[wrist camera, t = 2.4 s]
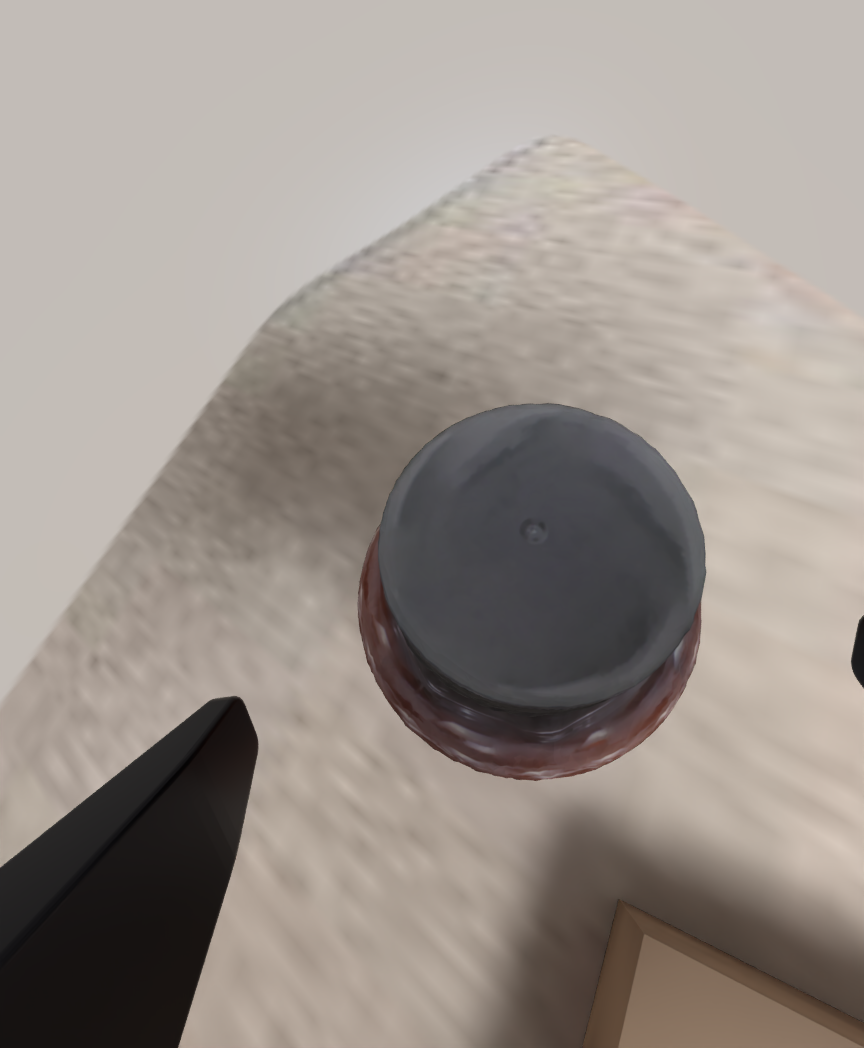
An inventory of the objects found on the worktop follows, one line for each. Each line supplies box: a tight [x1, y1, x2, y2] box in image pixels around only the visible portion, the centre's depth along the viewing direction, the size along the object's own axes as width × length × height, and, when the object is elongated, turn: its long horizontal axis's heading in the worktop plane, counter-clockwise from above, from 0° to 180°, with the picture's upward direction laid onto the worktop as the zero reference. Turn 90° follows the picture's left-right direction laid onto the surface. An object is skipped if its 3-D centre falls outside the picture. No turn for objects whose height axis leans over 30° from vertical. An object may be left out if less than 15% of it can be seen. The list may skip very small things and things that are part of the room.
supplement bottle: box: [358, 403, 706, 781], centre depth 11 cm, size 6×6×11 cm
